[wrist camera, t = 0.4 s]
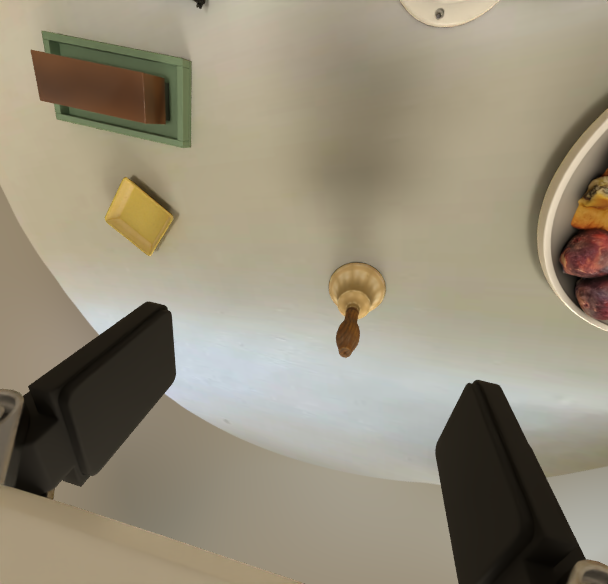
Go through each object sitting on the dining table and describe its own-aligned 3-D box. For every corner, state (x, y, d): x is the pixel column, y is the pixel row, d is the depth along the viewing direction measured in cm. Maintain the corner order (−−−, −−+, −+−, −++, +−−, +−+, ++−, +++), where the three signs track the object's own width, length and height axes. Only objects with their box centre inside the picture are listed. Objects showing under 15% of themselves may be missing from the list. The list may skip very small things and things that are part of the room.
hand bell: (325, 307, 49) (304, 376, 35) (332, 257, 45) (312, 313, 31) (379, 317, 48) (379, 392, 34) (391, 267, 44) (396, 328, 30)
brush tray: (55, 35, 40) (41, 30, 38) (191, 61, 38) (182, 58, 36) (69, 119, 45) (56, 119, 43) (190, 147, 43) (182, 147, 41)
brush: (71, 59, 40) (30, 49, 36) (172, 79, 39) (143, 72, 34) (77, 104, 43) (39, 100, 38) (172, 124, 41) (145, 123, 37)
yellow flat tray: (181, 214, 47) (173, 217, 46) (157, 253, 51) (149, 257, 50) (134, 173, 46) (124, 175, 44) (113, 216, 50) (103, 220, 48)
